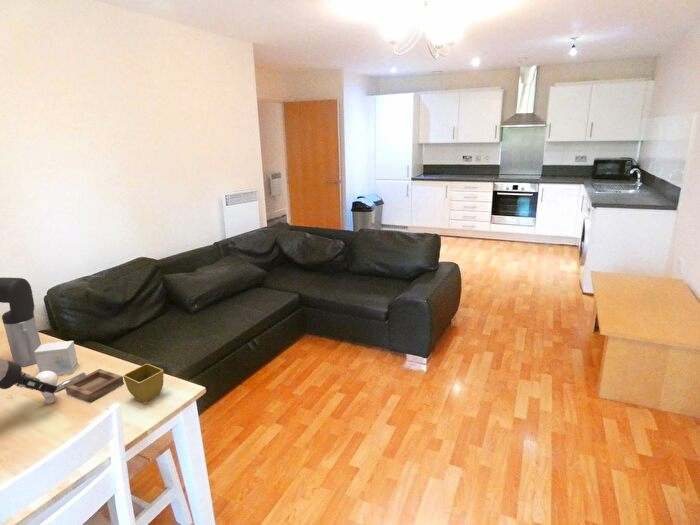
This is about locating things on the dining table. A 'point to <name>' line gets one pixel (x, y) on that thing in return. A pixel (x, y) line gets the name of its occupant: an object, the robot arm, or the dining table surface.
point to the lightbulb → (50, 379)
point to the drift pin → (69, 381)
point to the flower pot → (144, 382)
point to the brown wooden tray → (94, 385)
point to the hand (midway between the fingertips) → (46, 386)
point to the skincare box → (57, 357)
